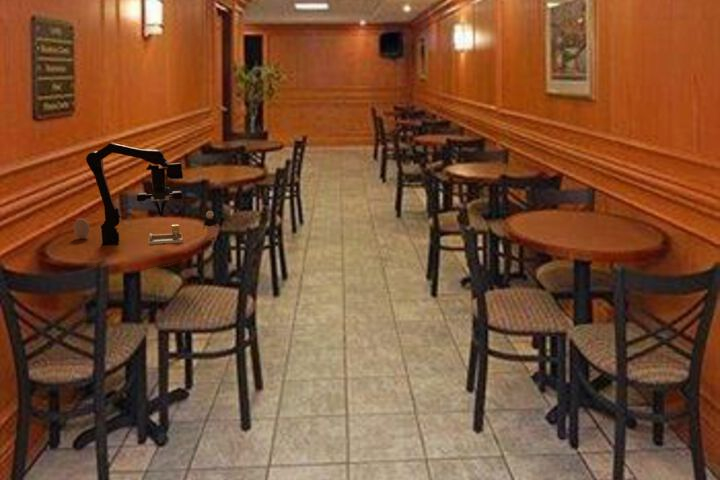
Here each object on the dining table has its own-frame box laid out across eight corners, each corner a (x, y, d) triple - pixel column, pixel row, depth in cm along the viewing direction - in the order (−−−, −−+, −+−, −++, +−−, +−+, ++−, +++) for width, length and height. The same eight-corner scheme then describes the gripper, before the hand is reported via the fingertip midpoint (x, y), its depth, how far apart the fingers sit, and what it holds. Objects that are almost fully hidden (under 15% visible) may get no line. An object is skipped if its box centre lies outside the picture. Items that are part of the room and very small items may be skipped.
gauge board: (148, 244, 324) (148, 236, 324) (149, 239, 334) (148, 232, 333) (182, 242, 328) (182, 234, 327) (182, 237, 337) (181, 230, 336)
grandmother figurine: (214, 237, 336) (213, 209, 334) (220, 238, 334) (219, 210, 331) (201, 240, 331) (199, 211, 328) (207, 241, 328) (205, 212, 325)
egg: (93, 237, 339) (92, 217, 337) (83, 240, 333) (81, 220, 331) (81, 236, 341) (80, 216, 339) (71, 239, 335) (69, 219, 333)
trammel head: (172, 238, 327) (171, 227, 326) (172, 235, 333) (171, 224, 332) (179, 237, 328) (179, 227, 327) (179, 234, 334) (178, 224, 333)
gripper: (135, 183, 316) (138, 220, 319) (181, 181, 320) (183, 218, 323) (136, 179, 326) (138, 215, 330) (180, 177, 331) (183, 213, 334)
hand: (161, 215), depth 329 cm, fingers closed
